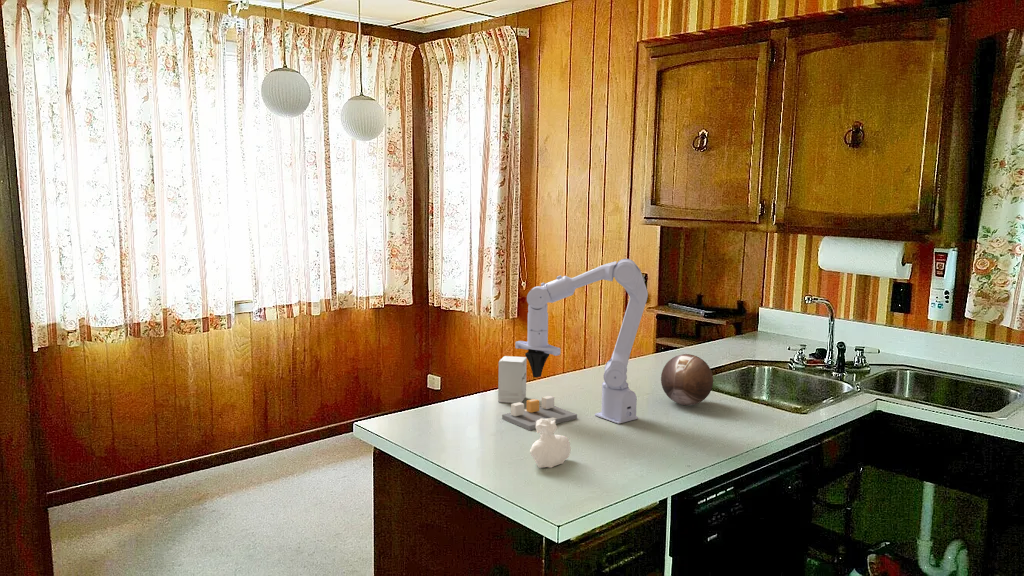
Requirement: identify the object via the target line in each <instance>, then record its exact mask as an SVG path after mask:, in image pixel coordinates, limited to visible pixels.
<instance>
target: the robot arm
mask: <svg viewBox="0 0 1024 576" xmlns="http://www.w3.org/2000/svg"><path fill="white" fill-rule="evenodd" d="M614 279H615V281H616V282H617V283H618V284H619V285H620V286H622V287H623V288H624V290H625V292H626V293H627V295H628V296H629V300H628V303H627V306H626V310H625V313H624V315H623V319H622V322H621V326H620V329H619V332H618V336H617V339H616V342H615V346H614V350H613V351H612V354H611V356H610V357H611V358H610V359H609V360H608V361H607V362H606V363H605V366H604V373H603V382H602V383H601V411H600V412H596V413H594V416H595V417H598V418H601V419H604V420H607V421H610V422H612V423H615V424H619V425H620V424H623V423H627V422H631V421H634V420H637V419H639V416H637V404H638V403H637V401H638V400H637V399H638V398H637V394H636V392H635V391H633V390H632V389H631V388H630V387H629V382H628V381H627V380H628V375H627V373H628V364H629V361H630V360H629V359H630V357H631V351H632V349H633V346H634V343H635V339H636V336H637V333H638V329H639V327H640V323H641V320H642V317H643V313H644V311H645V307H646V304H647V300H648V296H649V292H648V289H647V286H646V283H645V279H644V277H643V274H642V270H641V269H640V268H639V266H638V265H637V264H636V262H635V261H634V260H632V259H630V258H622V259H620V260H618V262H617V261H616V260H615V261H612V262H608V263H604V264H602V265H598V266H596V267H595V268H593V269H590V270H588V271H585V272H583V273H581V274H578V275H576V276H574V277H570V276H568V275H563V276H562V275H558V276H556V278H555V279H554V280H550V281H549V282H541V283H540V285H537V286H534V287H532V288H531V289H530V290H529V291H528V293H527V295H526V302H527V305H528V306H527V311H528V312H527V337H526V339H527V341H524V340H518V341H515V346H514V347H515V349H517V350H518V349H522V350H527V352H525V353H524V357H527V362H528V363H529V366H530V368H531V372H532V377H533V378H541V377H542V374H543V370H544V366H545V363H546V361H548V359H549V356H550V355H553V356H556V357H557V356H561V347H558V346H554V345H551V344H549V339H548V337H549V312H548V303H552V304H554V303H555V302H558V301H561V300H563V299H567V298H569V297H571V296H573V295H574V293H575V291H576V289H579V288H583V287H584V286H588V285H590V284H593V283H596V282H599V281H601V280H603V281H609V282H613V281H614Z"/></svg>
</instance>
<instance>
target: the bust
mask: <svg viewBox="0 0 1024 576" xmlns="http://www.w3.org/2000/svg"><path fill="white" fill-rule="evenodd" d="M555 421H556V420H553V421H552V420H549V418H548V419H543V418H541V419H539V420H537V421H536V427H535V428H536V429H535V430H536V434H539V433H540V434H539V435H540V436H539V438H538V439H537V440H535V441H534V443H532V445H531V447H530V450H529V454H530V455H531V457H532V459H533V460H534V461H535V463H536V466H537V467H538V468H541V469H542V468H550V469H551V468H553V467H556V466H558V465H562V464H564V463H565V461H566V460H567V459H569V457H570V454H571V449H572V448H571V443H570V441H569V438H568V437H567V436H565V435H561V434H555V432H556V430H558V426H557V424H555Z"/></svg>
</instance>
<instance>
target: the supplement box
mask: <svg viewBox="0 0 1024 576" xmlns="http://www.w3.org/2000/svg"><path fill="white" fill-rule="evenodd" d="M527 362H528V359H527V357H526V356H509V355H504V356H503V357H502V358H500V359H499V361H498V374H497V375H498V380H497V381H498V383H497V384H498V386H497V387H498V391H497V399H498V400H497V402H500V403H507V404H508V403H510V404H513V403H518V402H521V403H523V402H524V400H525V399H526V397H527V364H528V363H527Z"/></svg>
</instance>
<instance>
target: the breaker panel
mask: <svg viewBox="0 0 1024 576" xmlns="http://www.w3.org/2000/svg"><path fill="white" fill-rule="evenodd" d="M541 418H543V419H548V418H549V420H552V421H553V420H556V421H555V424H556V425H557V424H560V423H565V422H568V421H573V420H576V419H578V414H577V413H575V412H572V411H570V410H566V409H563V408H561V407H559V406H555V397H554V396H552V395H546V396H541V405H539V411H536V412H532V413H530V412H528V411H526V408H525V403H523V402H522V403H521V402H518V403H510V412H508V413H503V414H502V415H501V419H502V420H504V421H507V422H508V421H509V423H511V424H514V425H516V426H518V427H520V428H523V429H525V430H528V431H532V430H536V428H535V427H536V421H537V420H539V419H541Z"/></svg>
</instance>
